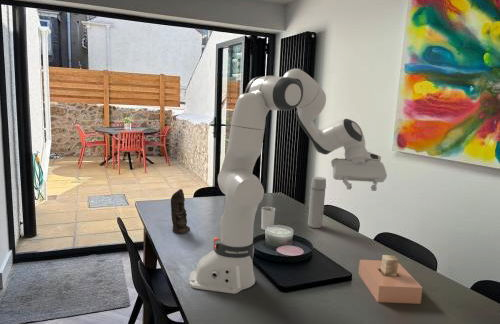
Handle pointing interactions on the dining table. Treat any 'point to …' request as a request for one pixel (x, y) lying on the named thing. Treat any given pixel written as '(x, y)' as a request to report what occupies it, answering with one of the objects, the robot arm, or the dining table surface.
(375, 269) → the socket
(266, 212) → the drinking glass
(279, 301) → the dining table surface
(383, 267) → the peg
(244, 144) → the robot arm
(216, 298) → the dining table surface
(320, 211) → the water bottle
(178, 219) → the statue
